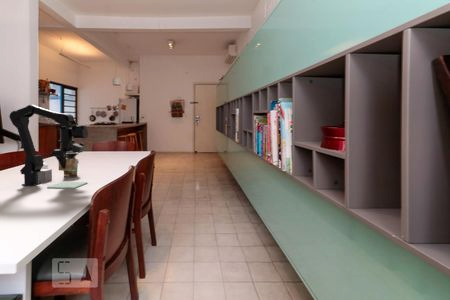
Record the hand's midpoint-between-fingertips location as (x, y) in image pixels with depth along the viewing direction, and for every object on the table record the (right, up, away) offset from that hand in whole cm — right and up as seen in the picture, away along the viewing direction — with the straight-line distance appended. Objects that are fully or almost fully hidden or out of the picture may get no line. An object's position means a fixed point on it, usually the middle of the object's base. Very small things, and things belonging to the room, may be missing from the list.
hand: (67, 167), depth 165 cm
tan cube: (0, -1, 0) cm, 1 cm away
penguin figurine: (-27, -7, +25) cm, 38 cm away
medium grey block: (-20, -8, +14) cm, 26 cm away
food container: (-11, -7, +28) cm, 31 cm away
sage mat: (0, -10, +1) cm, 10 cm away
